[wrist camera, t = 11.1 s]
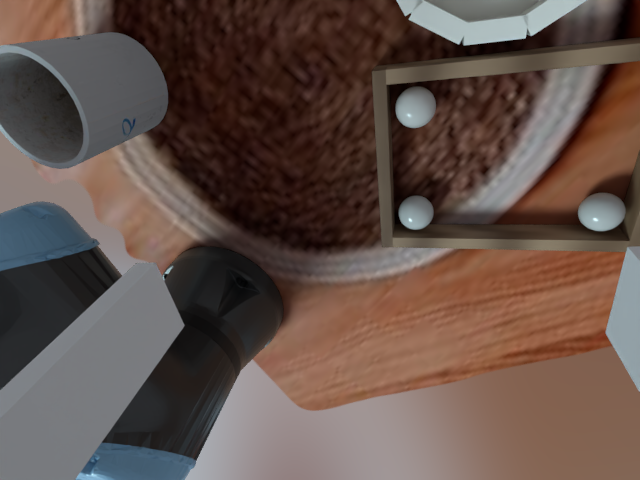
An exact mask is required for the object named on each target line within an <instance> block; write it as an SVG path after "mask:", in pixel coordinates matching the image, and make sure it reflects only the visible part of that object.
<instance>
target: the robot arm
mask: <svg viewBox="0 0 640 480" xmlns="http://www.w3.org/2000/svg"><path fill="white" fill-rule="evenodd" d="M99 244H100V243H99V242H98V241H97V240H96V239H93V238H91V237H90V236H89V235H88V234H87V232H85V230H84V229H83V228H82V227H81V226H80V225H79V224H78V223H77V222H76V220H75V219H74V218H73V217H72V216H71V215H70V214H69V213H68V212H67V211H66V210H65V209H64V208H62V207H61V206H59V205H56V204H54V203H50V202H33V203H30V204H26V205H24V206H20V207H17V208H14V209H12V210H9V211H6V212H3V213H1V214H0V480H185V478H186V476H187V475H188V473H189V471H190V470H191V469H192V468H194V466H195V464H196V460H197V458H198V456H199V454H200V452H201V450H202V448H203V446H204V444H205V442H206V440H207V437H208V436H209V434H210V431H211V430H212V427H213V426H214V423H215V421H216V419H217V417H218V415H219V413H220V411H221V409H222V407H223V405H224V403H225V401H226V399H227V397H228V395H229V393H230V391H231V389H232V387H233V385H234V383H235V381H236V379H237V376H238V375H239V373H240V371H241V370H242V369H243V368H244V367H245V366H246V365H247V363H249V362H250V361H251V360H252V359H253V358H254V357H255V356H256V355H257V354H258V353H259V352H260V351H261V350H262V349H263V348H265V347H266V346H267V345H268V344H269V343H270V342H271V341H272V339H273V338H274V336H275V334H276V332H277V330H278V328H279V326H280V324H281V321H282V318H283V303H282V299H281V296H280V294H279V292H278V290H277V288H276V286H275V284H274V283H273V282H272V280H271V279H270V278H269V276H268V275H267V274H266V273H265V272H264V271H263V270H262V269H261V268H259V267H258V266H257V265H256V264H254V263H253V262H251V261H250V260H248V259H247V258H245V257H243V256H241V255H239V254H237V253H235V252H232V251H229V250H226V249H222V248H217V247H197V248H193V249H190V250H187V251H185V252H183V253H182V254H180V255H179V256H178V257H177V258H176V259H175V260H174V261H173V262H172V263H171V264H170V265H169V266H168V268H167V269H166V270H165V272H164V273H163V275H161V273H160V271H159V269H158V267H157V265H156V263H136V264H135V265H134V266H133V267H132V268H131V269H129V270H128V271H127V272H126V273H125V274H124V275H123V276H122V275H121V274H120V273H119V271H118V270H117V269H116V268H115V266H114V265H113V264H112V263H111V262H110V260H109V259H108V258H107V257H106V256H105V254H104V253H103V252H102V251H101V249H100V248H99V247H98V245H99ZM606 335H607V336H608V338H609V340H610V342H611V343H612V345H613V347H614V349H615V350H616V352H617V354H618V355H619V357H620V359H621V361H622V362H623V364H624V366H625V368H626V369H627V371H628V373H629V374H630V376H631V378H632V380H633V381H634V383H635V385H636V387H637V388H638V390H639V392H640V246H636V247H627V251H626V255H625V259H624V263H623V266H622V270H621V274H620V278H619V282H618V286H617V290H616V294H615V298H614V302H613V305H612V309H611V313H610V317H609V321H608V325H607V329H606Z"/></svg>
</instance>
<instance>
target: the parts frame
mask: <svg viewBox="0 0 640 480" xmlns="http://www.w3.org/2000/svg"><path fill="white" fill-rule="evenodd" d="M633 61H640V37H639V38H629V39H620V40H611V41H602V42H592V43H583V44H574V45H565V46H556V47H546V48H537V49H528V50H519V51H509V52H500V53H491V54H482V55H473V56H463V57H454V58H445V59H436V60H426V61H417V62H408V63H399V64H390V65H380V66H376V67H375V68H374V69H373V70H372V85H373V102H374V119H375V136H376V154H377V171H378V188H379V205H380V222H381V239H382V247H413V248H461V249H509V250H557V251H605V252H626V251H627V247H636V246H640V151H639V154H638V158H637V161H636V164H635V168H634V171H633V174H632V177H631V181H630V184H629V187H628V191H627V194H626V197H625V201H624V205H625V208H626V214H625V217H624V219H623V221H622V222H621V223H620V224H619V225H618V226H617V227H615V228H613V229H611V230H607V231H594V230H591V229H589V228H587V227H585V226H584V225H502V224H428V225H427V226H426V227H424V228H422V229H418V230H413V229H409V228H407V227H406V226H404V225H403V224H395V213H394V186H393V159H392V131H391V104H390V84H400V83H410V82H421V81H432V80H442V79H453V78H463V77H474V76H485V75H495V74H506V73H516V72H527V71H538V70H548V69H559V68H569V67H580V66H591V65H601V64H612V63H623V62H633Z"/></svg>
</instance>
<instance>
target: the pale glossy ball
mask: <svg viewBox="0 0 640 480" xmlns="http://www.w3.org/2000/svg"><path fill="white" fill-rule="evenodd" d="M398 214H399V219H400V221H401V222H402V224H403V225H404V226H406V227H407V228H409V229H413V230H418V229H422V228H424V227H426V226H427V225H428V224H429V223H430V222H431V221H432V218H433V214H434V210H433V206H432V204H431V203H430V201H429V200H428V199H426V198H425V197H422V196H417V195H416V196H410V197H408V198H406V199H405V200H404V201H403V202H402V203H401V205H400V207H399V213H398Z"/></svg>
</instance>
